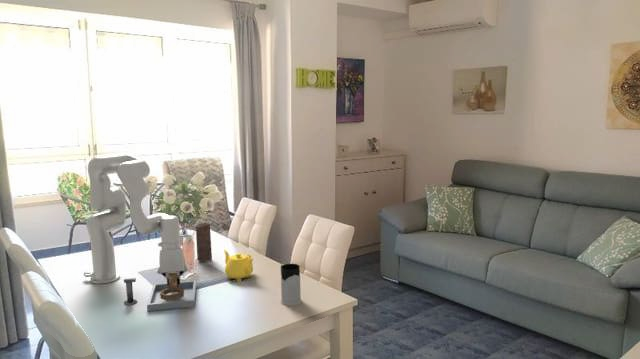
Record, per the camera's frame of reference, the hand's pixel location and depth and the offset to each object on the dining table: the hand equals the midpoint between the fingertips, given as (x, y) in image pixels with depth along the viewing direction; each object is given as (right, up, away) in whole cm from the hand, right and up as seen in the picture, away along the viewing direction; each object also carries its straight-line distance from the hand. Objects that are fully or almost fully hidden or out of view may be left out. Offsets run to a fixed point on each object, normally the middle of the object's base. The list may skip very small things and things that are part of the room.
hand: (173, 285), depth 205 cm
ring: (+1, -2, -5) cm, 5 cm away
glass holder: (+50, -4, -6) cm, 50 cm away
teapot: (+25, 0, +20) cm, 32 cm away
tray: (+1, -4, -4) cm, 6 cm away
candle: (+3, +3, +43) cm, 43 cm away
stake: (-15, -5, -8) cm, 18 cm away
